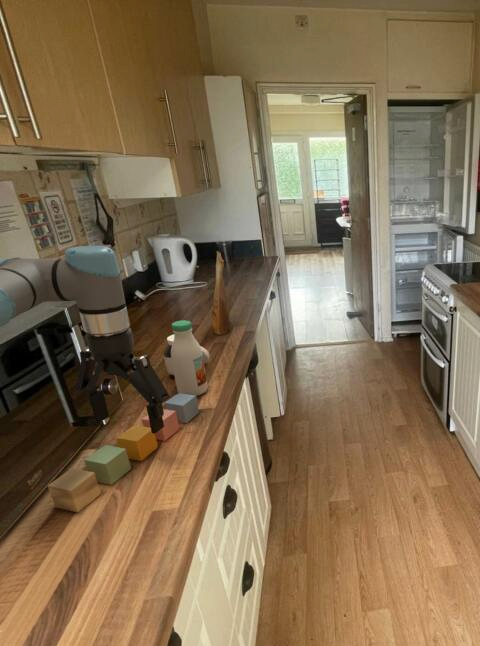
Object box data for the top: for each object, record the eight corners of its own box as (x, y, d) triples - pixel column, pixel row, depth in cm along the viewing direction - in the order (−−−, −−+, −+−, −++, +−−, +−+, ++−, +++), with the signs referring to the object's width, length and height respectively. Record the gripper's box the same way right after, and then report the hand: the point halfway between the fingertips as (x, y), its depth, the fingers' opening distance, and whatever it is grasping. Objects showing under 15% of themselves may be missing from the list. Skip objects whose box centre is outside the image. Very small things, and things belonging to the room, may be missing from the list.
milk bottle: (190, 400, 113) (177, 330, 105) (171, 393, 117) (158, 324, 109) (214, 388, 119) (203, 321, 111) (195, 382, 123) (184, 316, 115)
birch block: (55, 507, 77) (47, 485, 75) (79, 488, 82) (72, 467, 80) (78, 512, 76) (70, 490, 74) (101, 493, 81) (94, 472, 79)
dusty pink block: (145, 437, 97) (141, 419, 95) (161, 425, 102) (157, 407, 100) (164, 441, 96) (160, 422, 94) (179, 429, 101) (175, 410, 99)
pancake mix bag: (234, 319, 173) (225, 249, 162) (232, 336, 156) (222, 259, 145) (216, 320, 171) (206, 249, 160) (212, 337, 154) (201, 260, 143)
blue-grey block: (168, 420, 104) (164, 402, 102) (181, 410, 109) (178, 392, 107) (186, 423, 103) (182, 405, 101) (199, 412, 108) (196, 395, 106)
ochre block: (121, 457, 91) (115, 437, 89) (138, 443, 95) (134, 424, 93) (141, 461, 90) (136, 441, 88) (158, 447, 94) (153, 428, 92)
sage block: (90, 480, 84) (83, 459, 82) (110, 464, 89) (105, 444, 87) (111, 484, 83) (105, 464, 81) (131, 468, 88) (125, 448, 86)
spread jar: (167, 381, 123) (159, 344, 118) (169, 365, 132) (162, 330, 128) (211, 375, 127) (206, 338, 122) (210, 360, 136) (205, 326, 132)
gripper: (178, 331, 82) (193, 424, 90) (71, 316, 87) (95, 406, 95) (150, 345, 75) (169, 444, 84) (36, 328, 80) (65, 424, 89)
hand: (130, 424), depth 90 cm, fingers open, 13 cm apart
